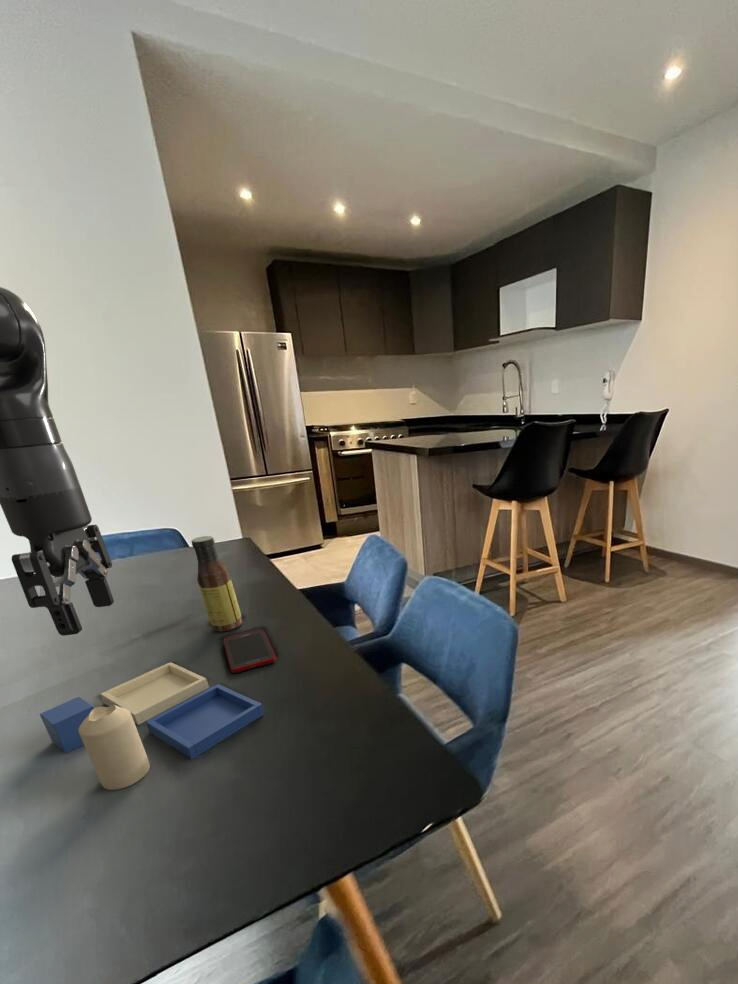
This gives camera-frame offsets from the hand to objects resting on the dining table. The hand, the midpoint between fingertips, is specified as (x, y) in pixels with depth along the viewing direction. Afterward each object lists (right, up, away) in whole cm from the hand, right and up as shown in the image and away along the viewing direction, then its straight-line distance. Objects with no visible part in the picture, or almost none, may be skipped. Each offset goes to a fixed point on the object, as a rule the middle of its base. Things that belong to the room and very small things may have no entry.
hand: (89, 618), depth 61 cm
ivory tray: (-4, -14, +20) cm, 25 cm away
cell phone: (+7, -8, +33) cm, 34 cm away
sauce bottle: (-3, -4, +45) cm, 45 cm away
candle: (+3, -21, +3) cm, 21 cm away
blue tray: (+9, -16, +12) cm, 22 cm away
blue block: (-10, -18, +11) cm, 23 cm away
